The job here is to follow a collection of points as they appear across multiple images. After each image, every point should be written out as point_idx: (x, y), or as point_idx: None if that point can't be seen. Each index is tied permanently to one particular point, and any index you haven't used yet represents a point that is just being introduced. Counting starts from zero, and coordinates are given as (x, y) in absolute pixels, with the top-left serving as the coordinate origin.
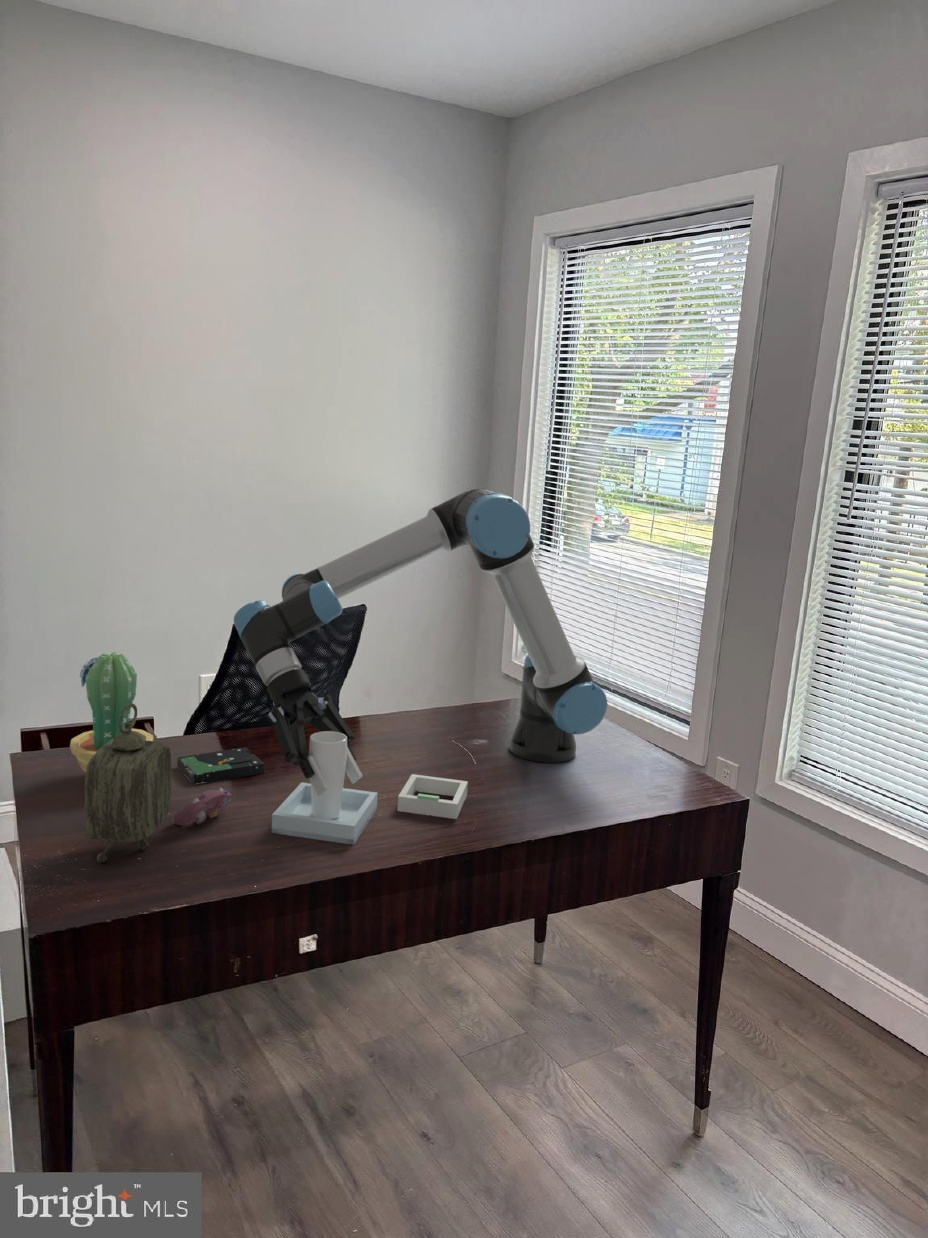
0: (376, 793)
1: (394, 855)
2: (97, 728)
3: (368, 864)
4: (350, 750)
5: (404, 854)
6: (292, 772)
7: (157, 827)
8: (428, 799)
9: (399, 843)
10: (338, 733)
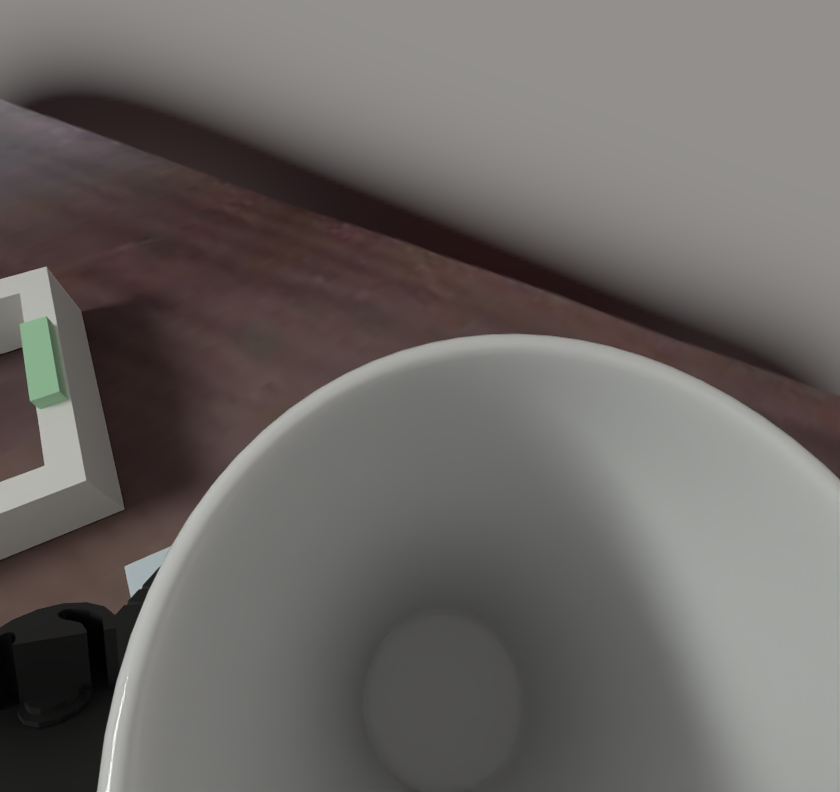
0: (138, 563)
1: (457, 305)
2: None
3: (562, 322)
4: (121, 633)
5: (429, 290)
6: None
7: None
8: (59, 355)
9: (379, 338)
10: (144, 757)
